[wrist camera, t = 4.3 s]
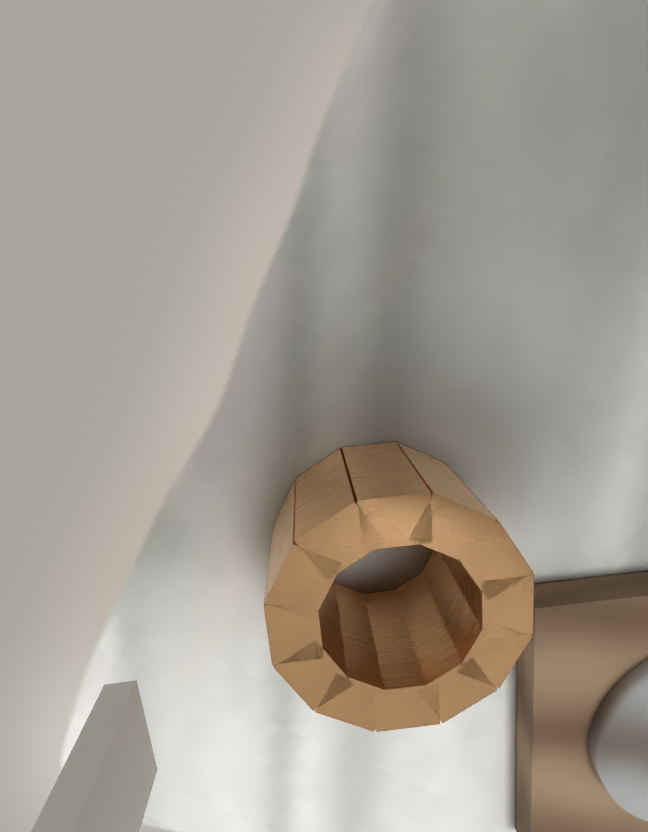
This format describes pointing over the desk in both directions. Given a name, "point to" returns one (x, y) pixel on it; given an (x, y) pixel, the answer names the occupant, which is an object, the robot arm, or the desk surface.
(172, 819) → the desk surface
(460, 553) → the light wood ring
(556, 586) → the bobbin stand
